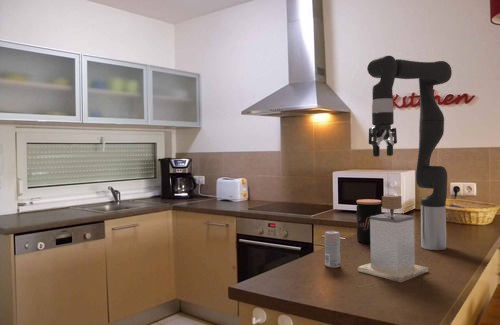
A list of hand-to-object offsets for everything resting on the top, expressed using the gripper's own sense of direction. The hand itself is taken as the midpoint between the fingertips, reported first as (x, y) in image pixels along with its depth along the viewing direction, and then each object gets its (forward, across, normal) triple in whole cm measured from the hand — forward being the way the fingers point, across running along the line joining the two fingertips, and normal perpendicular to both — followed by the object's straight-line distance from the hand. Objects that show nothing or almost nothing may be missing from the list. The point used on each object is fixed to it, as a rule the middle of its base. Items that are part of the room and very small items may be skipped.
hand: (383, 156), depth 154 cm
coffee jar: (+38, -20, -21) cm, 48 cm away
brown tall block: (+34, +12, +11) cm, 38 cm away
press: (+38, +12, +11) cm, 41 cm away
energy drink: (+38, +21, -7) cm, 44 cm away
